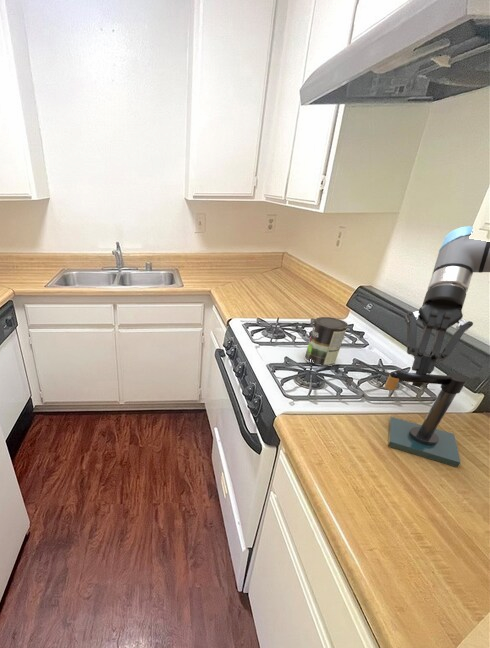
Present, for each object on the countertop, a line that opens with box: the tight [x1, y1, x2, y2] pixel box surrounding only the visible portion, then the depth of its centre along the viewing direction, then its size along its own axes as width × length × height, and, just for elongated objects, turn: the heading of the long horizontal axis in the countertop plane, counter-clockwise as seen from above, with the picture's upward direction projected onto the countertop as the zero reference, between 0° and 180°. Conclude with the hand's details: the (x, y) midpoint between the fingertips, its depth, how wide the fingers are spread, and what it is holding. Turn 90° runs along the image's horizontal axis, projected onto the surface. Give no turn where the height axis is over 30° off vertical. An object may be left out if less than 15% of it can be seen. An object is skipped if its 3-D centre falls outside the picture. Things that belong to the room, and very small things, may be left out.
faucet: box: [387, 388, 462, 468], centre depth 81 cm, size 14×12×15 cm
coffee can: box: [304, 316, 349, 366], centre depth 118 cm, size 10×10×14 cm
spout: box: [383, 371, 468, 395], centre depth 76 cm, size 15×4×4 cm, turn 83°
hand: (417, 384), depth 78 cm, fingers closed
